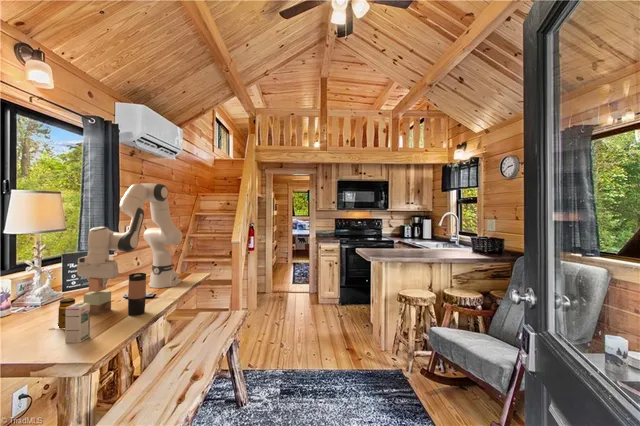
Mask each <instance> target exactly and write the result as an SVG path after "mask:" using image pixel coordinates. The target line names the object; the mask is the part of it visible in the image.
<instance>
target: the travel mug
mask: <svg viewBox="0 0 640 426" xmlns="http://www.w3.org/2000/svg"><path fill="white" fill-rule="evenodd" d="M127 293H128V294H127V315H128V316H129V317H137V316H139V317H140V316H142V315H144V314H145V313H146V312H145V311H146V296H147V295H146V294H147V273H145V272H134V273H130V274H129V275H128V291H127Z"/></svg>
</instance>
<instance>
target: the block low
mask: <svg viewBox="0 0 640 426" xmlns="http://www.w3.org/2000/svg"><path fill="white" fill-rule="evenodd" d="M111 310H112V300H111V301H108V302H106V303H103V304H101V305H90V316H91V315H92V316H100V315H102V314H104V313H107V312H110V311H111Z"/></svg>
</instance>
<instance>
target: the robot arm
mask: <svg viewBox="0 0 640 426" xmlns="http://www.w3.org/2000/svg"><path fill="white" fill-rule="evenodd" d="M168 196H169V189H168V187H167V186H166V185H165V184H163V183H154V182H153V183H151V182H147V183H143V182H142V183H141V182H140V183H138V182H137V183H133V184H131V185H130V186H129V187H128V189H127V190H126V191H125V193H124V195H123V196H122V198H121V199H120V202H119V209H120V211H121V212H122V213H123V214H124V215H125V216H128V217H130V218H131V219H130V223H129V226H128V229H127V231H125V232H117V231H113V230H110V229H109V227H108V226H96V227H95V226H94V227H92V228H90V229H89V232H88V236H87V237H88V238H87V248H88V250H87V255H85V256H81V257H78V258H77V266H76V275H77V276H78V277H82V278H86V281H88V283H89V279H92V278H103V280H104V281H103V283H101V287H105V286H106V287H107V283H108V281H109V280H113V279H116V278H118V277H119V266H118V261H116V260H115V259H110V251H117V252H123V253H130V252H132V251H134V250H135V249H136V248H137V246H138V244H139V237H140V233H141V229H142V226H143V222H144V218H145V211H144V209H143V207H144V204H145V202H149V206H150V207H149V208H150V216H151V217H150V218H151V221H152V222H153V223H154V224H156V225H157V226H158V227H150V228H149V227H148V228H147V229H145V230H144V231H143V236H142V237H143V239H144V241H145V242H146V243H147V244H148V246H149V247H150V249H151V251H152V265H151V270H152V271H151V272H150V277H149V282H148V283H147V285H148V286H149V287H150V288H152V289H153V288H154V289H157V288H158V289H160V288H161V289H163V288H170V287H171V288H172V287H176V286H177V285H178V284H180V283H181V281H182V282H183V279H181V278H179V273H178V272H177V271H176V270H174V269H173V268H174V267H175V266H176V264H175V263H172V252H171V250H169V249H168V248H167V247H166V245H168V246H172V245H178V244H180V243H181V242H182V240H183V233H182V231H181V230H180V229H178V228H177V227H176V225H175V224H174V223H173V221H172V218H171V211H170V203H169V200H168Z"/></svg>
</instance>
